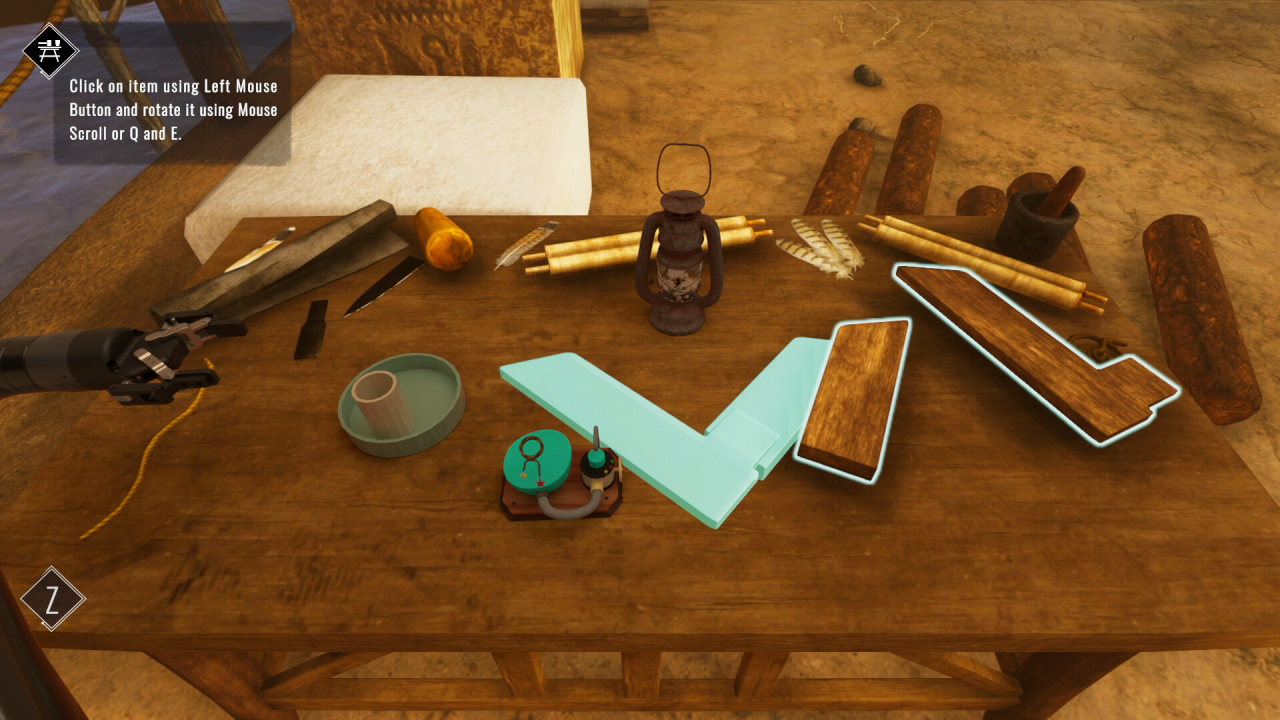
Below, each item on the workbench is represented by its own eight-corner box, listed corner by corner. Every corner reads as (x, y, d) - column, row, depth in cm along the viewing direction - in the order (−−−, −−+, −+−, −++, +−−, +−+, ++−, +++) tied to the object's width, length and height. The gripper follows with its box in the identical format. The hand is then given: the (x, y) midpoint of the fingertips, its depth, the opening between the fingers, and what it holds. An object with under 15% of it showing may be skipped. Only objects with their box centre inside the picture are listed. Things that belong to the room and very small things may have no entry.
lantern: (640, 295, 116) (637, 124, 91) (720, 302, 115) (740, 130, 89) (631, 331, 109) (626, 156, 84) (717, 339, 107) (738, 163, 82)
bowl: (458, 452, 90) (451, 437, 87) (332, 462, 89) (322, 447, 86) (472, 365, 103) (467, 349, 100) (363, 372, 102) (355, 356, 99)
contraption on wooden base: (624, 532, 80) (620, 472, 69) (495, 537, 80) (471, 478, 69) (622, 449, 90) (619, 385, 79) (507, 454, 89) (488, 390, 79)
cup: (411, 441, 90) (391, 400, 83) (370, 444, 90) (346, 403, 83) (418, 410, 95) (400, 369, 88) (379, 413, 95) (357, 372, 87)
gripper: (30, 382, 62) (186, 372, 63) (105, 298, 72) (238, 290, 73) (80, 425, 67) (222, 415, 68) (143, 342, 77) (266, 333, 78)
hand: (230, 350), depth 70 cm, fingers open, 8 cm apart
